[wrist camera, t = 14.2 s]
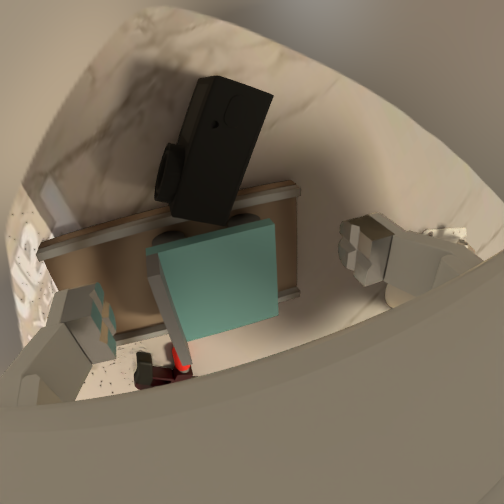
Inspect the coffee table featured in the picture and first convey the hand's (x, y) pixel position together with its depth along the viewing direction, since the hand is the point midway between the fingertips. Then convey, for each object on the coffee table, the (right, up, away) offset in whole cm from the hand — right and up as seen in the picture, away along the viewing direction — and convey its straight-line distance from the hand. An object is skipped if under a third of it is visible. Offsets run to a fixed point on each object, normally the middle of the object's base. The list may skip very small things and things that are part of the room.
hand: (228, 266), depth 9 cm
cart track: (-7, -1, +22) cm, 23 cm away
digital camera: (-4, +11, +16) cm, 19 cm away
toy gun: (-10, -15, +30) cm, 35 cm away
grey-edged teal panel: (-3, -1, +21) cm, 22 cm away
